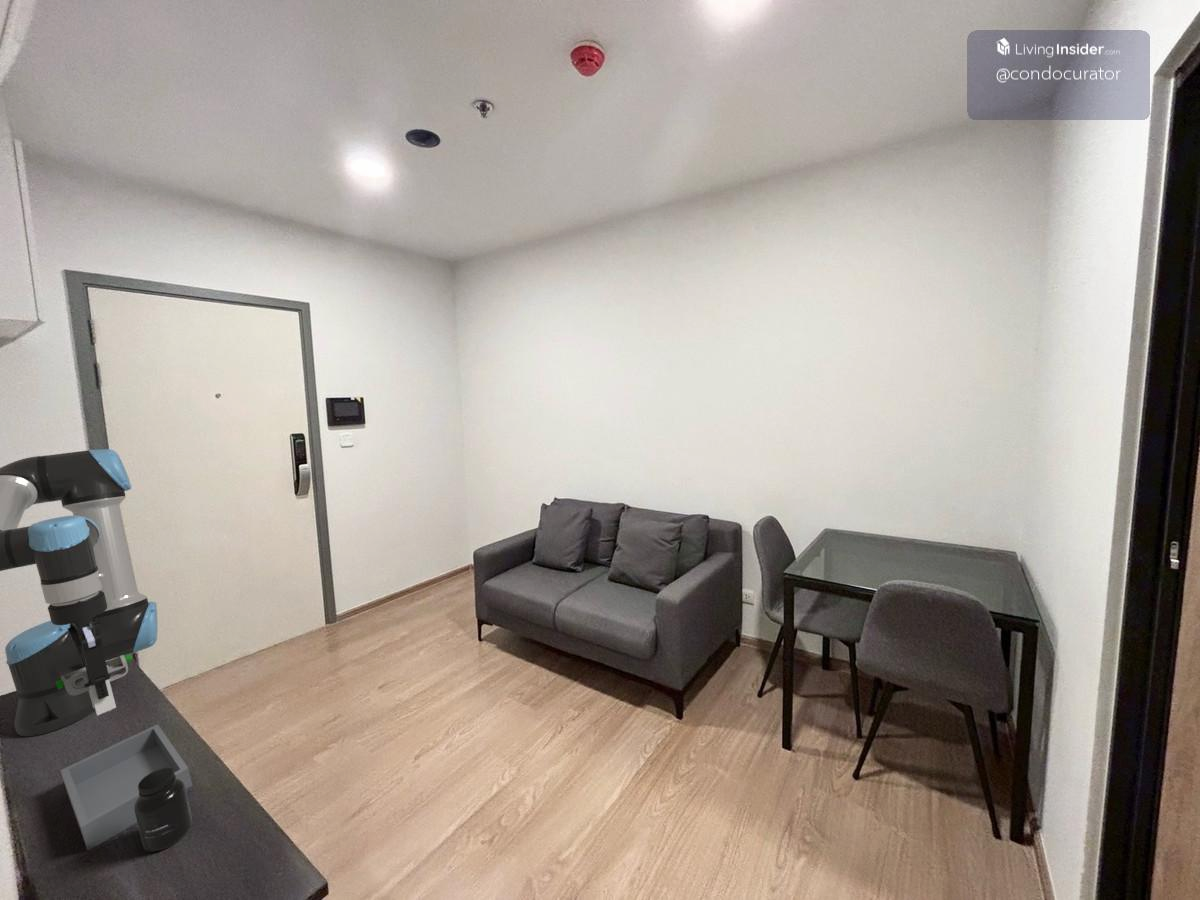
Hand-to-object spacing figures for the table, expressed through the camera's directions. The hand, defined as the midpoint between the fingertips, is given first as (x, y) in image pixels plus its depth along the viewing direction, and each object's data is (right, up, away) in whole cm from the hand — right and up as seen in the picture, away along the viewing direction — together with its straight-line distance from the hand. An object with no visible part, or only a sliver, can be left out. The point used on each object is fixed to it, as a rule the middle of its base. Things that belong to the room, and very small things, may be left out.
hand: (104, 707), depth 98 cm
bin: (+4, -17, +1) cm, 18 cm away
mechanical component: (0, -1, 0) cm, 1 cm away
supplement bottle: (+21, -19, -9) cm, 29 cm away
